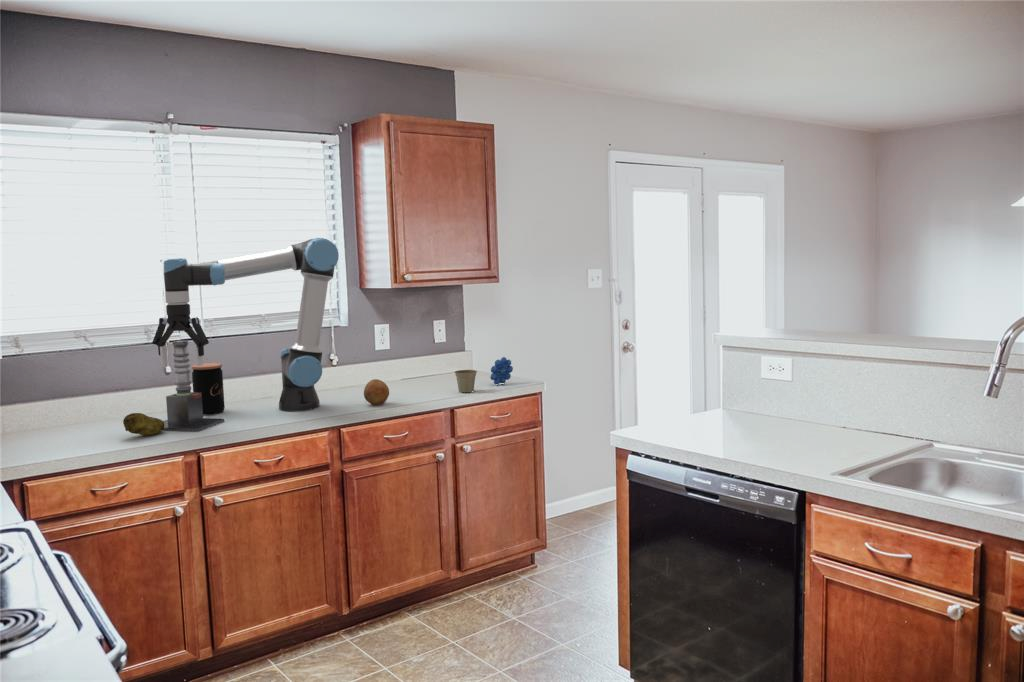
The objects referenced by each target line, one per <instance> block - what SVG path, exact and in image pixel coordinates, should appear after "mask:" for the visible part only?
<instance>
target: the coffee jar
mask: <svg viewBox="0 0 1024 682" xmlns="http://www.w3.org/2000/svg"><path fill="white" fill-rule="evenodd" d="M222 367H223V365H222V363H219V362H209V363H208V362H206V363H204V362H203V365H200V366H196V364H193V365H191V369H192V372H191V379H192V380H191V383H192V392H199V393H202V408H203V416H211V415H217V414H218V415H219V414H221V413H223V412H224V410H225V394H224V377H223V376H224V375H223V369H222Z"/></svg>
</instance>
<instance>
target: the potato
mask: <svg viewBox="0 0 1024 682" xmlns="http://www.w3.org/2000/svg"><path fill="white" fill-rule="evenodd" d="M163 421H164V420H162V419H160V418H156V417H152V416H148V415H146V414H144V413H141V412H131V413H130V414H129V413H128V414H126V416H124V418H123V421H122V422H123V427H124V428H125V429H124V430H125V431H126V432H129V433H131V434H136V435H140V436H147V437H149V436H155V435H157V434H160V433H161V432H163V431H164V430H163V429H164V422H163Z"/></svg>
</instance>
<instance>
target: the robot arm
mask: <svg viewBox="0 0 1024 682" xmlns="http://www.w3.org/2000/svg"><path fill="white" fill-rule="evenodd" d="M338 261H339V250H338V248H337V246H336V245H335V244H334V242H333V241H331V240H329V239H327V238H324V237H315V238H311V239H308V240H305V241H302V242H299V243H295V244H290V245H288V247H287V248H283V249H277V250H271V251H266V252H260V253H253V254H249V255H243V256H242V255H241V256H237V257H231V258H225V259H220V260H214V261H209V262H199V263H188V260H187V259H186V258H185V257H182V258H179V257H178V258H177V257H176V258H166V259H164V260H163V280H164V289H165V290H164V291H165V292H164V295H165V296H164V299H165V303H166V305H165V308H166V309H165V310H166V311H165V312H166V316H167V317H164V316H163V317H160V318H159V320H158V327H157V328H156V332H155V334H154V337H153V340H152V345H155V346H157V349H158V351H157V352H158V356H160V366H167V365H169V359H168V346H167V345H166V343H167V342H168V340H169V339H170V337H171V336H172V334H173V333H174V332H178V331H179V332H184V333H186V335H188V337H189V338H190V339H191V340H192V341H193V343H194V344H195V347H194V353H195V365H196V366H200V365H203V364H204V361H203V356H204V355H205V348H204V347H205V346H206V345H208V344H210V342H209V339H208V338H207V336H206V333H205V332H204V330H203V328H202V325H201V323H200V319H199V317H198V316H197V317H192V318H191V304H189V302H190V290H189V289H190V288H189V286H190V287H194V286H220V285H224V284H225V283H226V281H229V280H235V279H240V278H247V277H252V276H257V275H258V276H259V275H262V274H263V275H264V274H269V273H270V274H271V273H273V272H274V273H275V272H281V271H286V270H293V271H294V272H295V271H300V274H301V275H302V277H303V284H302V293H301V299H300V306H299V313H298V321H297V328H296V334H295V340H294V341H295V342H294V344H292V345H291V346H290V347H289V348H283V349H282V350H281V351H280V360H281V361H280V362H281V379H282V390H281V393H280V397H279V402H278V409H279V410H280V411H285V412H300V411H310V410H315V409H317V408H320V406H321V404H320V403H321V402H320V399H319V396H318V393H317V390H316V388H315V385H316V384H317V383H318V382H319V380H320V379H321V378H322V375H323V365H322V358H323V352H324V351H323V350H322V349H321V347H320V342H321V336H322V335H321V334H322V329H323V328H322V327H323V321H324V313H325V308H326V301H327V300H326V299H327V292H328V286H329V281H331V280H332V279H334V273H335V266H337V263H338ZM167 324H168V326H167Z"/></svg>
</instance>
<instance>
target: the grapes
mask: <svg viewBox="0 0 1024 682" xmlns="http://www.w3.org/2000/svg"><path fill="white" fill-rule="evenodd" d="M513 369H514V367H513V366H512V360H511V359H507V357H505V356H502V357H501V358H500V359H497V360H495V362H494V365H493V366H491V368H490V372H491V375H490V380H491V381H493V384H494V385H495V384H498V385H500V383H504V384H506V381H508V380H510V379H511V377H512V376H511V373H512V372H513Z"/></svg>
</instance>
